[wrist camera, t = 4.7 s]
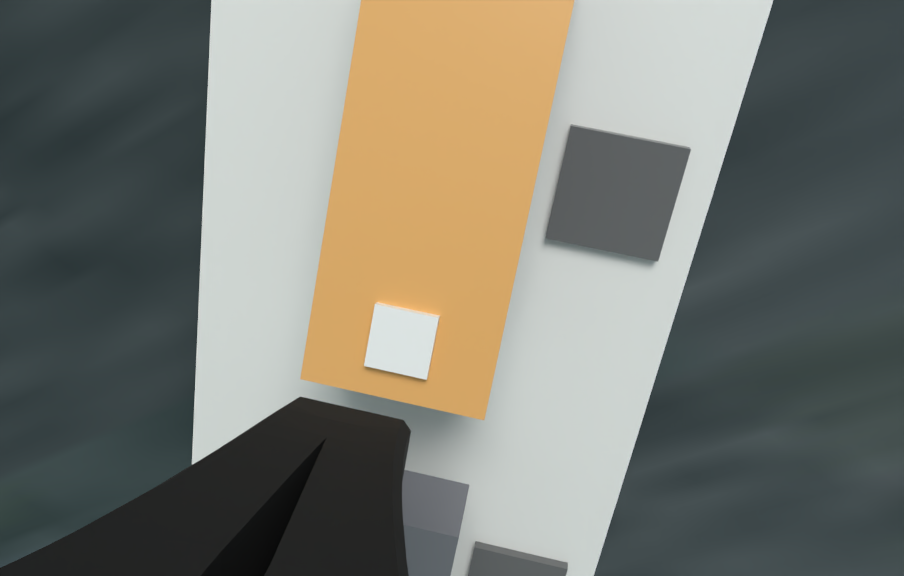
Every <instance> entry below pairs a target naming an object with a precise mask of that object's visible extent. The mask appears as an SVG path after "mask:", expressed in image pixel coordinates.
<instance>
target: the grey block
mask: <svg viewBox="0 0 904 576" xmlns="http://www.w3.org/2000/svg"><path fill="white" fill-rule="evenodd" d="M468 490H469V484H464V483H460V482H456V481H451V480H447V479H443V478H438V477H434V476H430V475H425V474H421V473H417V472H412V471H408V470H404V475H403V481H402V511H403V525H404V536H405V548H406V559H407V567H408V575H409V576H450V575H451V571H452V566H453V562H454V557H455V553H456V548H457V544H458V539H459V534H460V529H461V524H462V519H463V515H464V510H465V505H466V500H467V495H468Z"/></svg>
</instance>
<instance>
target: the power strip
mask: <svg viewBox="0 0 904 576" xmlns="http://www.w3.org/2000/svg"><path fill="white" fill-rule="evenodd" d="M772 3H773V0H574V5H573V10H572V14H571V19H570V24H569V28H568V33H567V38H566V42H565V47H564V52H563V56H562V61H561V66H560V70H559V75H558V80H557V84H556V89H555V94H554V98H553V103H552V108H551V112H550V117H549V122H548V126H547V131H546V135H545V140H544V145H543V149H542V154H541V159H540V163H539V168H538V173H537V177H536V182H535V187H534V191H533V196H532V201H531V205H530V210H529V215H528V219H527V224H526V229H525V233H524V238H523V243H522V247H521V252H520V257H519V261H518V266H517V271H516V275H515V280H514V284H513V289H512V294H511V298H510V303H509V308H508V312H507V317H506V322H505V326H504V331H503V336H502V340H501V345H500V350H499V354H498V359H497V364H496V368H495V373H494V378H493V382H492V387H491V392H490V396H489V401H488V406H487V410H486V415H485V419H484V420H480V419H476V418H471V417H467V416H462V415H458V414H453V413H449V412H444V411H440V410H435V409H431V408H427V407H422V406H418V405H413V404H409V403H404V402H400V401H395V400H391V399H386V398H382V397H377V396H373V395H369V394H364V393H360V392H355V391H351V390H346V389H342V388H337V387H333V386H328V385H324V384H320V383H315V382H311V381H306V380H302V379H300V377H301V371H302V365H303V358H304V352H305V346H306V340H307V334H308V327H309V321H310V315H311V309H312V302H313V296H314V290H315V284H316V278H317V271H318V265H319V259H320V253H321V246H322V240H323V234H324V228H325V222H326V215H327V209H328V203H329V197H330V190H331V184H332V178H333V172H334V166H335V159H336V153H337V147H338V141H339V134H340V128H341V122H342V116H343V110H344V103H345V97H346V91H347V85H348V78H349V72H350V66H351V60H352V54H353V47H354V41H355V35H356V29H357V22H358V16H359V10H360V4H361V0H212V1H211V25H210V48H209V72H208V96H207V119H206V143H205V166H204V190H203V214H202V237H201V261H200V285H199V308H198V332H197V355H196V379H195V403H194V426H193V450H192V465H193V464H194V463H196V462H198V461H199V460H201V459H203V458H204V457H206V456H207V455H209V454H211V453H212V452H214V451H216V450H217V449H219V448H220V447H222V446H223V445H225V444H226V443H228V442H230V441H231V440H233V439H234V438H236V437H237V436H239V435H240V434H242V433H243V432H245V431H247V430H248V429H250V428H251V427H253V426H254V425H256V424H257V423H259V422H260V421H262V420H263V419H265V418H267V417H268V416H270V415H271V414H273V413H274V412H276V411H277V410H279V409H281V408H282V407H284V406H286V405H287V404H289V403H290V402H292V401H294V400H295V399H297V398H299V397H305V398H309V399H314V400H318V401H322V402H327V403H331V404H336V405H340V406H345V407H349V408H353V409H358V410H362V411H367V412H371V413H376V414H380V415H384V416H389V417H393V418H398V419H402V420H404V421H405V423H406V424H407V426H408V427H409V429H410V430H411V435H410V441H409V446H408V452H407V458H406V464H405V469H404V470H408V471H412V472H417V473H421V474H425V475H430V476H434V477H438V478H443V479H447V480H451V481H456V482H460V483H464V484H469V490H468V495H467V500H466V505H465V510H464V515H463V519H462V524H461V529H460V534H459V539H458V544H457V548H456V553H455V557H454V562H453V566H452V571H451V575H450V576H594V573H595V570H596V566H597V563H598V560H599V557H600V554H601V550H602V547H603V544H604V541H605V538H606V534H607V531H608V528H609V525H610V522H611V518H612V515H613V512H614V509H615V506H616V502H617V499H618V496H619V493H620V490H621V486H622V483H623V480H624V477H625V474H626V470H627V467H628V464H629V461H630V458H631V454H632V451H633V448H634V445H635V442H636V438H637V435H638V432H639V429H640V426H641V422H642V419H643V416H644V413H645V410H646V406H647V403H648V400H649V397H650V394H651V390H652V387H653V384H654V381H655V378H656V374H657V371H658V368H659V365H660V362H661V358H662V355H663V352H664V349H665V346H666V342H667V339H668V336H669V333H670V330H671V326H672V323H673V320H674V317H675V314H676V310H677V307H678V304H679V301H680V298H681V294H682V291H683V288H684V285H685V281H686V278H687V275H688V272H689V269H690V265H691V262H692V259H693V256H694V253H695V249H696V246H697V243H698V240H699V237H700V233H701V230H702V227H703V224H704V221H705V217H706V214H707V211H708V208H709V205H710V201H711V198H712V195H713V192H714V189H715V185H716V182H717V179H718V176H719V173H720V169H721V166H722V163H723V160H724V157H725V153H726V150H727V147H728V144H729V141H730V137H731V134H732V131H733V128H734V125H735V121H736V118H737V115H738V112H739V109H740V105H741V102H742V99H743V96H744V93H745V89H746V86H747V83H748V80H749V77H750V73H751V70H752V67H753V64H754V61H755V57H756V54H757V51H758V48H759V45H760V41H761V38H762V35H763V32H764V29H765V25H766V22H767V19H768V16H769V13H770V9H771V6H772Z"/></svg>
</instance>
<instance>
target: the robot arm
mask: <svg viewBox="0 0 904 576" xmlns="http://www.w3.org/2000/svg"><path fill="white" fill-rule="evenodd" d="M410 435H411V430H410V429H409V427H408V426H407V424H406V423H405V421H404V420H402V419H398V418H393V417H389V416H384V415H380V414H376V413H371V412H367V411H362V410H358V409H353V408H349V407H345V406H340V405H336V404H331V403H327V402H322V401H318V400H314V399H309V398H305V397H299V398H297V399H295V400H294V401H292V402H290V403H289V404H287V405H286V406H284V407H282V408H281V409H279V410H277V411H276V412H274V413H273V414H271V415H270V416H268V417H267V418H265V419H263V420H262V421H260V422H259V423H257V424H256V425H254V426H253V427H251V428H250V429H248V430H247V431H245V432H243V433H242V434H240V435H239V436H237V437H236V438H234V439H233V440H231V441H230V442H228V443H226V444H225V445H223V446H222V447H220V448H219V449H217V450H216V451H214V452H212V453H211V454H209V455H207V456H206V457H204V458H203V459H201V460H199V461H198V462H196V463H194V464H193V465H191V466H189V467H188V468H186V469H185V470H183V471H181V472H180V473H178V474H176V475H175V476H173V477H172V478H170V479H168V480H167V481H165V482H163V483H162V484H160V485H158V486H157V487H155V488H153V489H152V490H150V491H148V492H146V493H144V494H143V495H141V496H139V497H137V498H135V499H134V500H132V501H130V502H128V503H126V504H125V505H123V506H121V507H119V508H117V509H115V510H114V511H112V512H110V513H108V514H106V515H105V516H103V517H101V518H99V519H97V520H95V521H94V522H92V523H90V524H88V525H86V526H85V527H83V528H81V529H79V530H77V531H75V532H73V533H72V534H70V535H68V536H66V537H64V538H62V539H60V540H58V541H56V542H54V543H52V544H50V545H48V546H46V547H44V548H41V549H39V550H37V551H35V552H33V553H31V554H29V555H27V556H25V557H23V558H21V559H19V560H17V561H14V562H12V563H10V564H8V565H6V566H3V567H1V568H0V576H409V575H408V567H407V559H406V548H405V536H404V525H403V511H402V481H403V475H404V469H405V464H406V458H407V452H408V446H409V441H410Z"/></svg>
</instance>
